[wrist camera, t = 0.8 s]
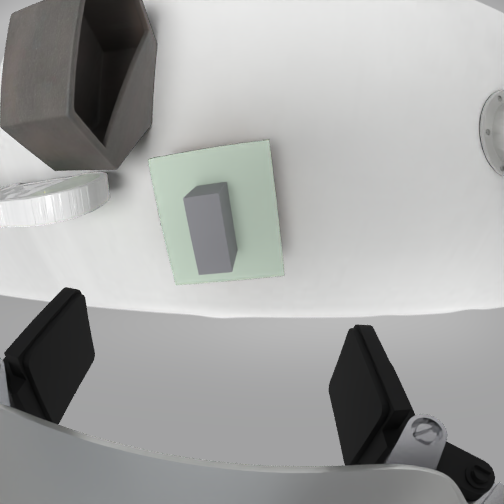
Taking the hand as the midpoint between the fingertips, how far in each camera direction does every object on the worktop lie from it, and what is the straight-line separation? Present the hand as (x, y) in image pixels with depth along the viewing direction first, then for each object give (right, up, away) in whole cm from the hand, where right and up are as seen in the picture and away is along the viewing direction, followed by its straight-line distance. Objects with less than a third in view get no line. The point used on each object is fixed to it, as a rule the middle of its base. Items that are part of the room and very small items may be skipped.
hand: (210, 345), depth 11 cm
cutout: (-26, +12, +28) cm, 40 cm away
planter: (-14, +24, +22) cm, 35 cm away
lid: (-2, +7, +23) cm, 24 cm away
